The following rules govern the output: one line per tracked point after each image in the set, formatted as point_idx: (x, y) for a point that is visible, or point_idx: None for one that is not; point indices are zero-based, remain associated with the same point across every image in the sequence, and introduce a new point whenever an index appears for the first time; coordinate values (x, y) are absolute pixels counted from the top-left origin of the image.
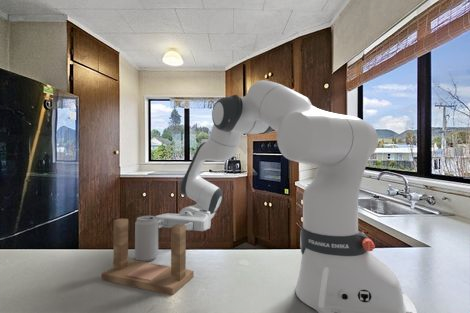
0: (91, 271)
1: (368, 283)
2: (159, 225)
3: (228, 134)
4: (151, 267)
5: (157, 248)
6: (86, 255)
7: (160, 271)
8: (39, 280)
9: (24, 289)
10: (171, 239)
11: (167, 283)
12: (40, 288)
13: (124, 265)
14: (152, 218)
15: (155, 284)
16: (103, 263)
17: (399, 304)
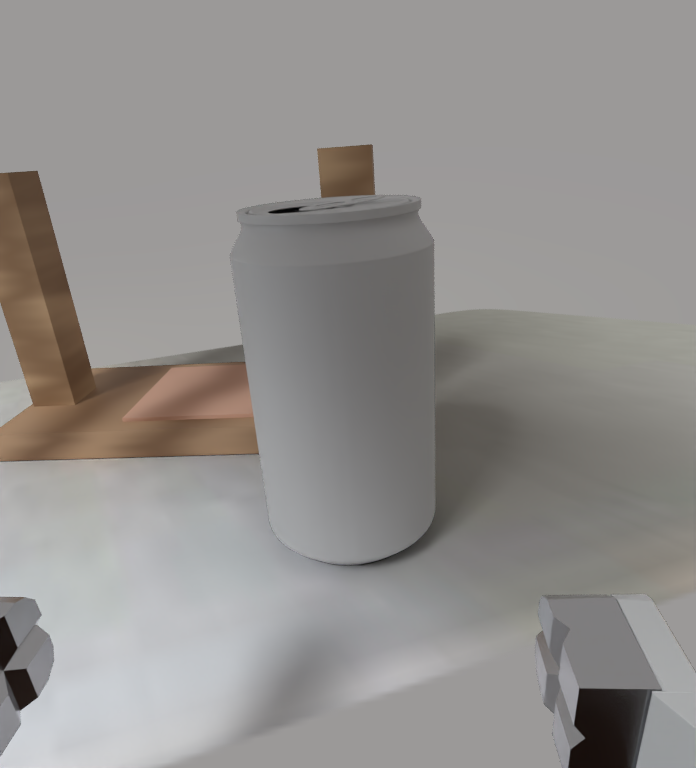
0: (498, 391)
1: None
2: (547, 634)
3: None
4: (209, 402)
5: (262, 471)
6: None
7: (153, 397)
8: (585, 341)
9: (550, 325)
10: (51, 229)
11: (104, 374)
12: (516, 333)
13: None
14: (332, 248)
15: (147, 366)
16: (542, 430)
17: None
